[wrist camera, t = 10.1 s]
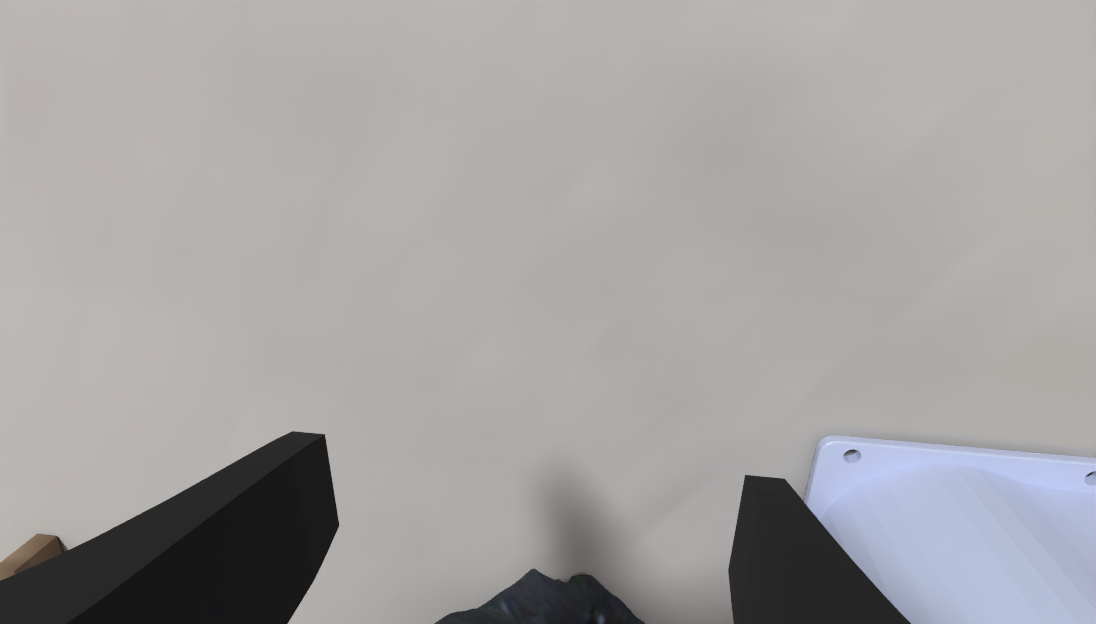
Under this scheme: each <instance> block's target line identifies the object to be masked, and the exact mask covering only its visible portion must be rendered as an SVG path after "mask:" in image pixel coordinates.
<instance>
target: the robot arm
mask: <svg viewBox="0 0 1096 624" xmlns="http://www.w3.org/2000/svg"><path fill="white" fill-rule="evenodd" d="M853 449H855V450H856V452H855V453H854V454H852V455H849V456H845V455H844V454H845V452H847V451H848V450H853ZM1094 471H1095V472H1094ZM1091 472H1094V473H1093V474H1092V475H1090V476H1088V477H1086V475H1087V474H1089V473H1091ZM338 527H339V521H338V515H337V509H336V502H335V496H334V490H333V483H332V477H331V471H330V464H329V458H328V452H327V445H326V439H325V434H314V433H304V432H293V431H292V432H290V433H288V434H286V435H284V436H282V437H280V438H278V439H276V440H274V441H272V442H270V443H268V444H266V445H265V446H263V447H261V448H259V449H257V450H256V451H254V452H252V453H250V454H248V455H247V456H245V457H243V458H241V459H239V460H238V461H236V462H234V463H232V464H231V465H229V466H227V467H225V468H224V469H222V470H220V471H218V472H216V473H215V474H213V475H211V476H209V477H208V478H206V479H204V480H202V481H200V482H199V483H197V484H195V485H193V486H191V487H190V488H188V489H186V490H184V491H183V492H181V493H179V494H177V495H175V496H174V497H172V498H170V499H168V500H166V501H164V502H162V503H160V504H159V505H157V506H155V507H153V508H151V509H149V510H147V511H145V512H143V513H141V514H139V515H137V516H136V517H134V518H132V519H130V520H128V521H126V522H124V523H122V524H120V525H118V526H116V527H114V528H113V529H111V530H109V531H107V532H105V533H103V534H101V535H99V536H97V537H95V538H93V539H91V540H89V541H87V542H85V543H83V544H81V545H79V546H77V547H74V548H72V549H70V550H68V551H66V552H64V553H62V554H60V555H57V556H55V557H53V558H51V559H49V560H46V561H44V562H42V563H40V564H37V565H35V566H33V567H31V568H28V569H26V570H24V571H22V572H19V573H17V574H15V575H13V576H10V577H8V578H6V579H3V580H1V581H0V624H288V622H289V620H290V619H291V617H292V615H293V614H294V612H295V611H296V609H297V607H298V606H299V604H300V602H301V601H302V599H303V598H304V596H305V594H306V593H307V591H308V589H309V588H310V586H311V584H312V583H313V581H314V579H315V577H316V575H317V573H318V571H319V569H320V567H321V565H322V563H323V560H324V558H325V556H326V554H327V552H328V550H329V547H330V545H331V543H332V541H333V538H334V536H335V534H336V532H337V529H338ZM728 572H729V582H730V592H731V602H732V611H733V620H734V624H1096V458H1089V457H1077V456H1066V455H1054V454H1043V453H1032V452H1020V451H1009V450H997V449H986V448H974V447H963V446H951V445H940V444H928V443H917V442H905V441H894V440H882V439H871V438H859V437H848V436H836V435H835V436H828V437H825V438H823V439H822V440H821V441H819V443H818V445H817V447H816V451H815V455H814V459H813V464H812V468H811V472H810V477H809V481H808V486H807V490H806V494H805V499H804V501H803V500H802V499H801V498H800V497H799V495H798V494H797V493H796V492H795V491H794V489H793V488H792V487H791V486H790V485H789V484H788V482H787V481H786V480H785V479H781V478H771V477H760V476H750V475H745V479H744V485H743V491H742V496H741V502H740V508H739V513H738V519H737V525H736V530H735V536H734V542H733V547H732V553H731V559H730V564H729V570H728Z"/></svg>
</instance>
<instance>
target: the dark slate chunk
mask: <svg viewBox="0 0 1096 624" xmlns="http://www.w3.org/2000/svg"><path fill="white" fill-rule="evenodd" d="M435 624H645V623H644V622H642V621H641V620H640V619H638V618H637V617H636V616H635V615H634V614H633V613H632V612H631V611H630V610H629V609H628V608H627V607H626V605H625V604H624V603H623V602H622V601H621V600H620V599H618V598H617V597H616V596H614V595H613V594H611V593H610V592H609V591H607V590H606V589H605V588H604V587H603V586H602V585H601V584H600V583H599V582H598V581H597V580H596V579H595V578H594V577H592V576H591V575H577V576H572V577H571V579H570V581H569V582H567V583H561V582H560V580H559V579H557V580H553V579H551V578H549V577H547V576H545V575H543V574H541V573H540V572H538V571H537V570H536V569H531V570H530V571H529V572H528V573H526V574H525V575H524V576H523V577H522V578H521V579H520V580H518V581H517V582H516V583H515V584H513V585H512V586H510V587H509V588H507V589H505V590H503V591H502V592H500V593H499V594H498V595H496V596H495V597H494V598H492V599H491V600H490V601H488V602H487V603H485V604H484V605H482V606H481V607H479V608H477V609H471V610H467V611H462V612H455V613H451V614H449V615H447V616H445V617H444V618H442V619H441V620H439V621H438V622H436V623H435Z"/></svg>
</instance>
